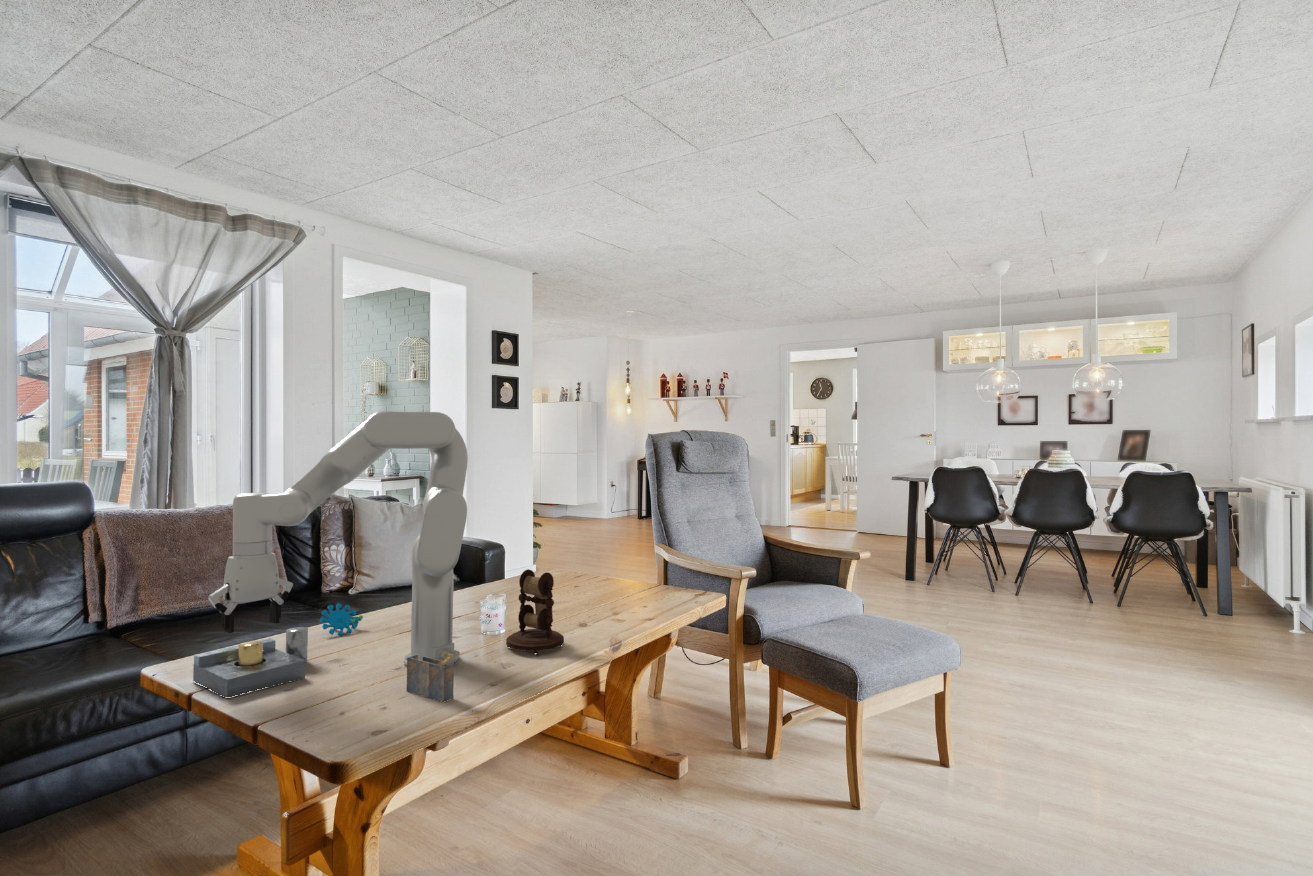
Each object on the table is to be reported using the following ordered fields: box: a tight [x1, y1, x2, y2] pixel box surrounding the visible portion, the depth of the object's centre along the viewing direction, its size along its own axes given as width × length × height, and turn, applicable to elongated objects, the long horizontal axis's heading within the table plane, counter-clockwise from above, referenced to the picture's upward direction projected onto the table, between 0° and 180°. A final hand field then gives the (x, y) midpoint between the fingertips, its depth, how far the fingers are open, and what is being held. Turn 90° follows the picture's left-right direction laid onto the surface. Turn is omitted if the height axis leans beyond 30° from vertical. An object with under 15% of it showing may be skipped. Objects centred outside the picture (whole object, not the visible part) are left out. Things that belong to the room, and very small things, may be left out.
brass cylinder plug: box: [238, 640, 263, 667], centre depth 151 cm, size 5×5×8 cm
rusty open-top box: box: [406, 652, 455, 703], centre depth 144 cm, size 11×3×10 cm, turn 59°
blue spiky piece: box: [319, 602, 364, 637], centre depth 190 cm, size 11×6×10 cm
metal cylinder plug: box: [285, 626, 309, 665], centre depth 163 cm, size 5×5×8 cm
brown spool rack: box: [505, 569, 565, 654], centre depth 178 cm, size 15×15×20 cm
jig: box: [192, 638, 306, 697], centre depth 151 cm, size 16×16×6 cm
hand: (252, 626), depth 151 cm, fingers open, 9 cm apart
